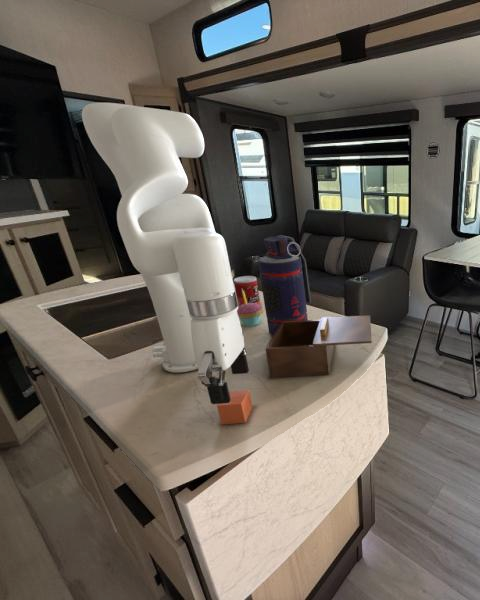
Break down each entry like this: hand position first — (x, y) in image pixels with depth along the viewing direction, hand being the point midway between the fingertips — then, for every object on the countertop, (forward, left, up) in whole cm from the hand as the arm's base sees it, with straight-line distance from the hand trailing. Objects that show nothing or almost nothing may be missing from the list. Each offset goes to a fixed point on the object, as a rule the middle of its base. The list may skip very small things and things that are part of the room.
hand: (231, 386), depth 62 cm
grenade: (+3, +39, -8) cm, 40 cm away
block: (0, 0, -7) cm, 7 cm away
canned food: (-18, +64, -8) cm, 67 cm away
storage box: (+10, +21, -7) cm, 25 cm away
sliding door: (+20, +21, +1) cm, 30 cm away
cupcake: (-12, +47, -8) cm, 50 cm away
